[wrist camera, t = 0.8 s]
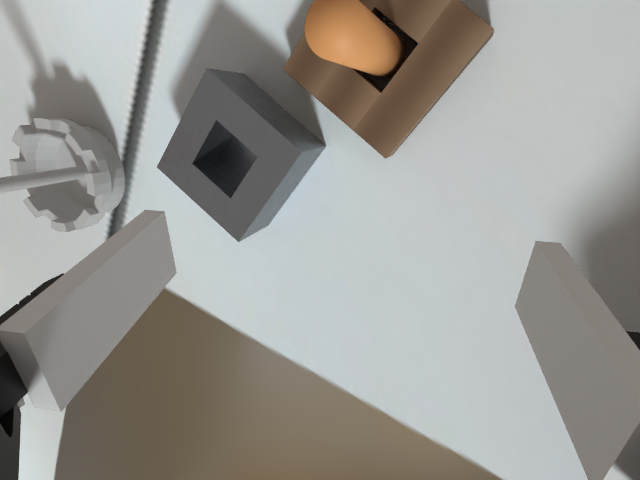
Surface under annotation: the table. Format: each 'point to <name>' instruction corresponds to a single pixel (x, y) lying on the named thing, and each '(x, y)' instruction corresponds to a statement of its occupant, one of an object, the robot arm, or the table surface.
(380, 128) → the mount
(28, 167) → the flag stand
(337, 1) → the pin
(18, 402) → the white banded pillar
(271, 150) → the socket block
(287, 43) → the table surface
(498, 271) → the table surface
